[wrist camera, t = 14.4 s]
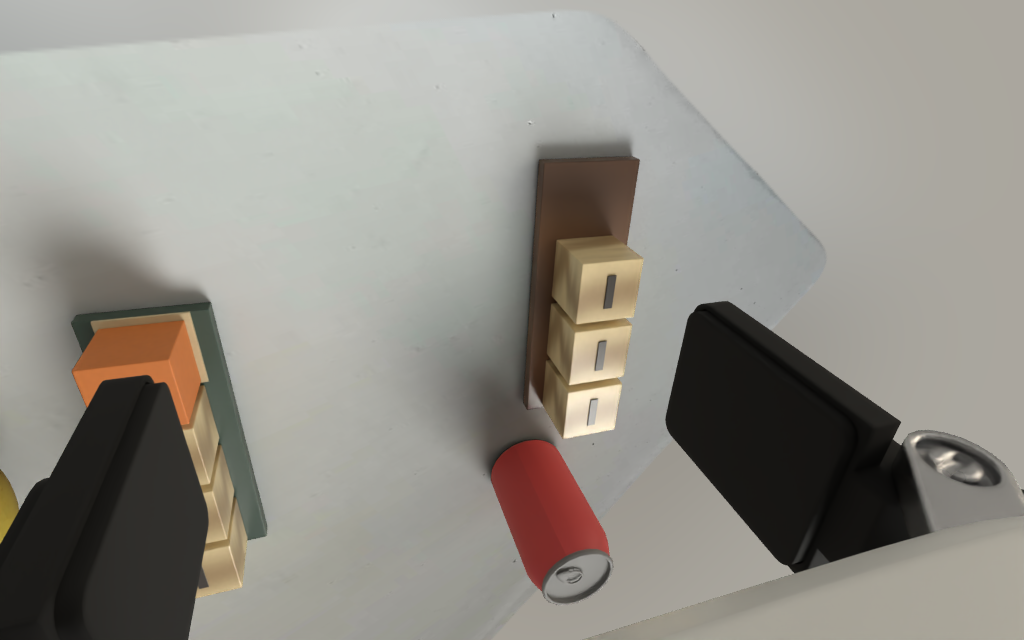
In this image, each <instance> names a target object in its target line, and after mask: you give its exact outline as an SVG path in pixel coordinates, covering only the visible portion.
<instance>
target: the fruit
mask: <svg viewBox="0 0 1024 640" xmlns="http://www.w3.org/2000/svg"><path fill="white" fill-rule="evenodd" d="M18 512H19V508H18V502H17V499H16V496H15V493H14V490H13V488H12V486H11V484H10V482H9V481H8V479H7V478H6V476H5V475H4V473H3V472H2V471H1V470H0V544H1V542H2V540H3V538H4V536H5V535H6V533H7V531H8V529H9V528H10V526H11V524H12V522H13V520H14V519H15V517H16V515H17V513H18Z"/></svg>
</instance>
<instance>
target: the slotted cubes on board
mask: <svg viewBox="0 0 1024 640" xmlns="http://www.w3.org/2000/svg"><path fill="white" fill-rule="evenodd" d="M639 162H640V160H639V159H637V158H635V157H633V156H630V157H600V158H570V159H540V160H539V169H538V185H537V200H536V215H535V230H534V246H533V261H532V276H531V292H530V307H529V322H528V338H527V353H526V368H525V383H524V399H523V403H524V405H525V407H526V409H527V410H529V409H535V408H540V407H544V408H545V410H546V412H547V413H548V415H549V417H550V418H551V420H552V422H553V423H554V425H555V427H556V429H557V430H558V432H559V434H560V435H561V437H562V439H567V438H572V437H577V436H582V435H587V434H592V433H597V432H603V431H608V430H613V429H614V428H615V423H616V417H617V411H618V405H619V399H620V393H621V387H622V383H621V382H620V380H619V379H618V378H617V377H623V376H624V370H625V364H626V358H627V352H628V347H629V341H630V335H631V329H632V324H631V323H630V322H629V321H628V320H627V319H626V318H629V317H634V312H635V306H636V300H637V294H638V288H639V283H640V277H641V271H642V265H643V258H642V257H641V256H640V255H638V254H637V253H636V252H634V251H633V250H632V249H630V248H629V247H628V246H627V240H628V234H629V227H630V221H631V214H632V207H633V201H634V194H635V188H636V181H637V175H638V168H639Z"/></svg>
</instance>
